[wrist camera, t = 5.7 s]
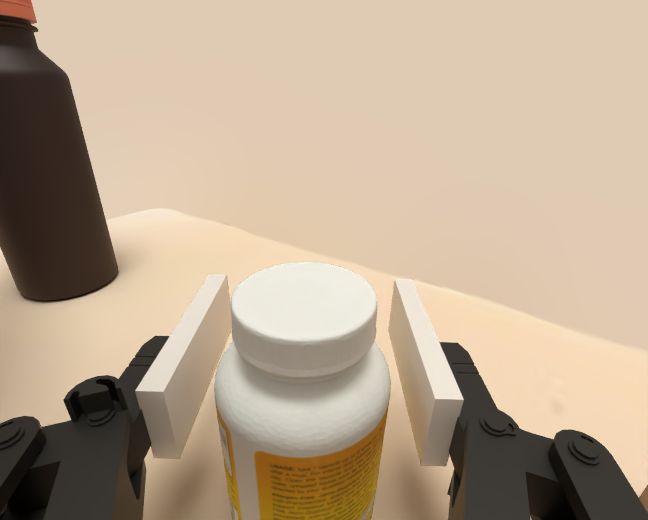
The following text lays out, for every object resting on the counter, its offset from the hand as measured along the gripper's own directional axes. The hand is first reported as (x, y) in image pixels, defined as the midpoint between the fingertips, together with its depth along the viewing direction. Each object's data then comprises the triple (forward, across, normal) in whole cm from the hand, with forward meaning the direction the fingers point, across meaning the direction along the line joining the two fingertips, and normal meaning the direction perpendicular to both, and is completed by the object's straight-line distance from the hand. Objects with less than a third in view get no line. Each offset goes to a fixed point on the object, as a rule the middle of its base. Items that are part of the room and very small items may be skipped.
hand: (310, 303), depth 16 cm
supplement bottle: (-5, 0, -6) cm, 8 cm away
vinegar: (+12, -20, -6) cm, 24 cm away
